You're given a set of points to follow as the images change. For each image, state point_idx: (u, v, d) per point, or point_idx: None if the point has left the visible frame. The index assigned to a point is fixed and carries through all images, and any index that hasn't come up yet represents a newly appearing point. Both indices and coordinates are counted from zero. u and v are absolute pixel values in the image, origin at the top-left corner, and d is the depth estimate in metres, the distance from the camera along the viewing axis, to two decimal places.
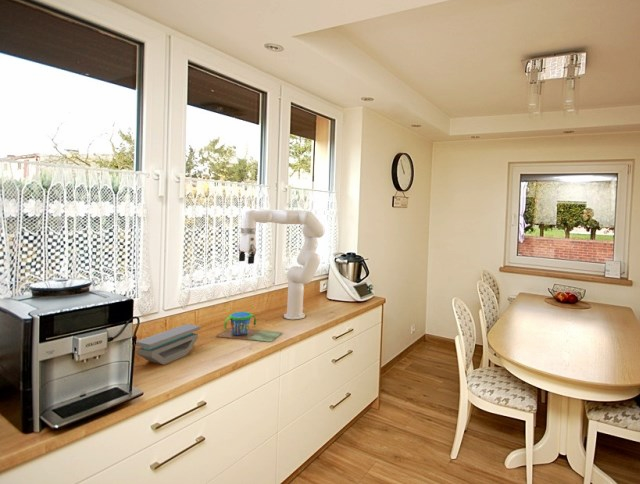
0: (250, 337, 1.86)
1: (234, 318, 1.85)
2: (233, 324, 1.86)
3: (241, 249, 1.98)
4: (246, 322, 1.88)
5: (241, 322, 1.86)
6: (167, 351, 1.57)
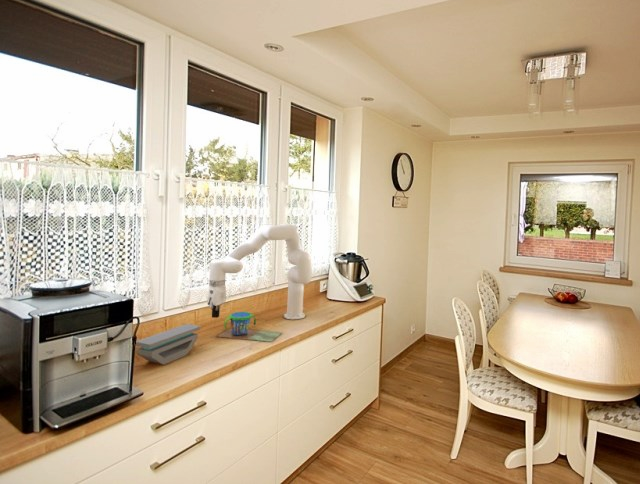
0: (250, 337, 1.86)
1: (234, 318, 1.85)
2: (233, 324, 1.86)
3: None
4: (246, 322, 1.88)
5: (241, 322, 1.86)
6: (167, 351, 1.57)
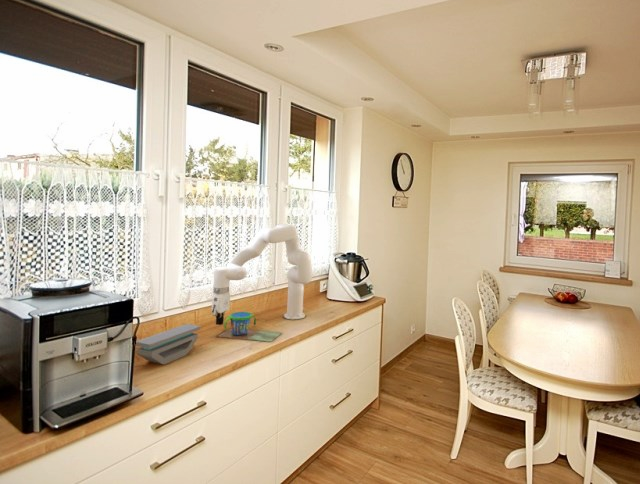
0: (250, 337, 1.86)
1: (234, 318, 1.85)
2: (233, 324, 1.86)
3: None
4: (246, 322, 1.88)
5: (241, 322, 1.86)
6: (167, 351, 1.57)
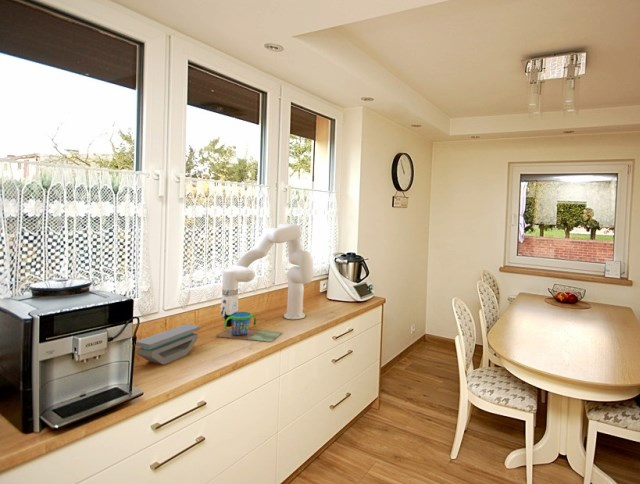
0: (250, 337, 1.86)
1: (234, 318, 1.85)
2: (233, 324, 1.86)
3: None
4: (246, 322, 1.88)
5: (242, 322, 1.86)
6: (167, 351, 1.57)
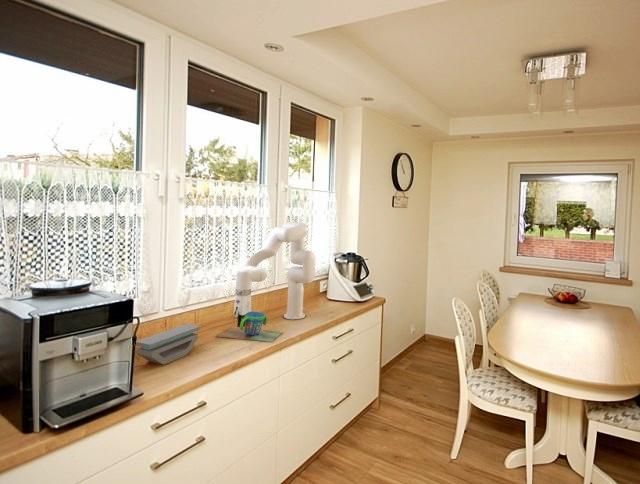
0: (250, 337, 1.86)
1: (252, 318, 1.85)
2: (249, 324, 1.86)
3: None
4: (262, 322, 1.90)
5: (259, 322, 1.87)
6: (167, 351, 1.57)
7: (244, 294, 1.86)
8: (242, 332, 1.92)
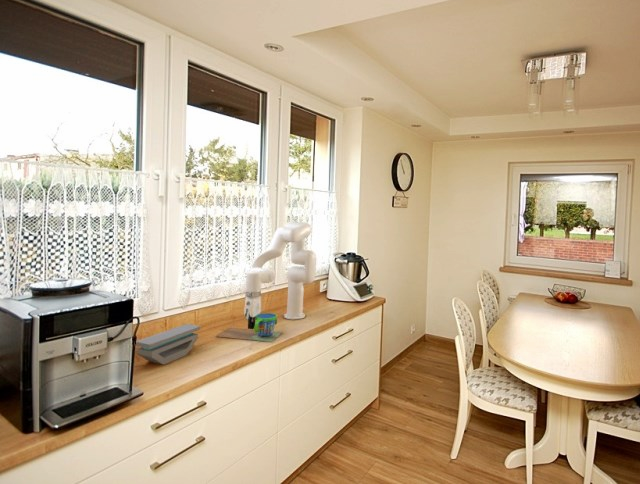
0: (250, 337, 1.86)
1: (266, 319, 1.86)
2: (264, 326, 1.86)
3: None
4: (274, 322, 1.91)
5: (272, 322, 1.89)
6: (167, 351, 1.57)
7: (254, 296, 1.86)
8: (242, 332, 1.92)
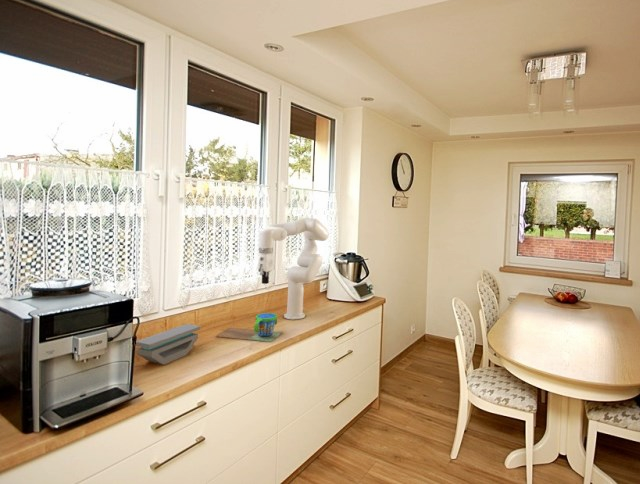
0: (250, 337, 1.86)
1: (266, 319, 1.86)
2: (264, 326, 1.86)
3: None
4: (274, 322, 1.91)
5: (272, 322, 1.89)
6: (167, 351, 1.57)
7: (267, 252, 1.95)
8: (242, 332, 1.92)
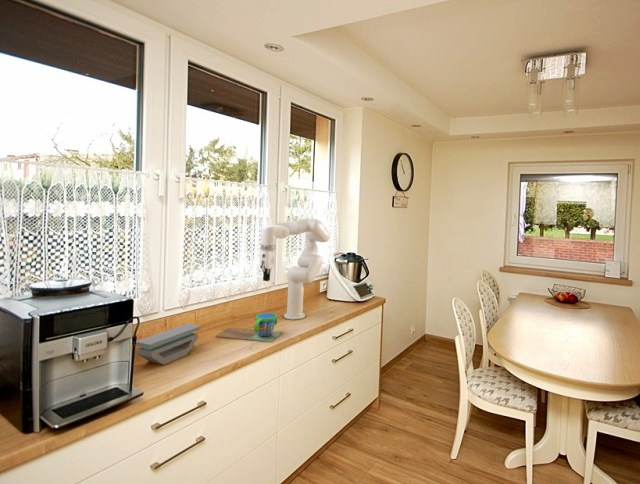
0: (250, 337, 1.86)
1: (266, 319, 1.86)
2: (264, 326, 1.86)
3: None
4: (274, 322, 1.91)
5: (272, 322, 1.89)
6: (167, 351, 1.57)
7: (269, 249, 1.96)
8: (242, 332, 1.92)
